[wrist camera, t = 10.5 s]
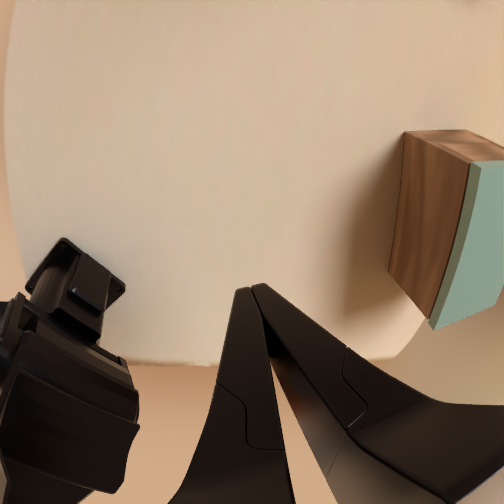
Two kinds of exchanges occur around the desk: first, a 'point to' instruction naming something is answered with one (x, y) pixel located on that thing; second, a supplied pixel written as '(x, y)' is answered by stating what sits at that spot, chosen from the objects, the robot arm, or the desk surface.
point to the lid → (475, 249)
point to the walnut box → (432, 207)
